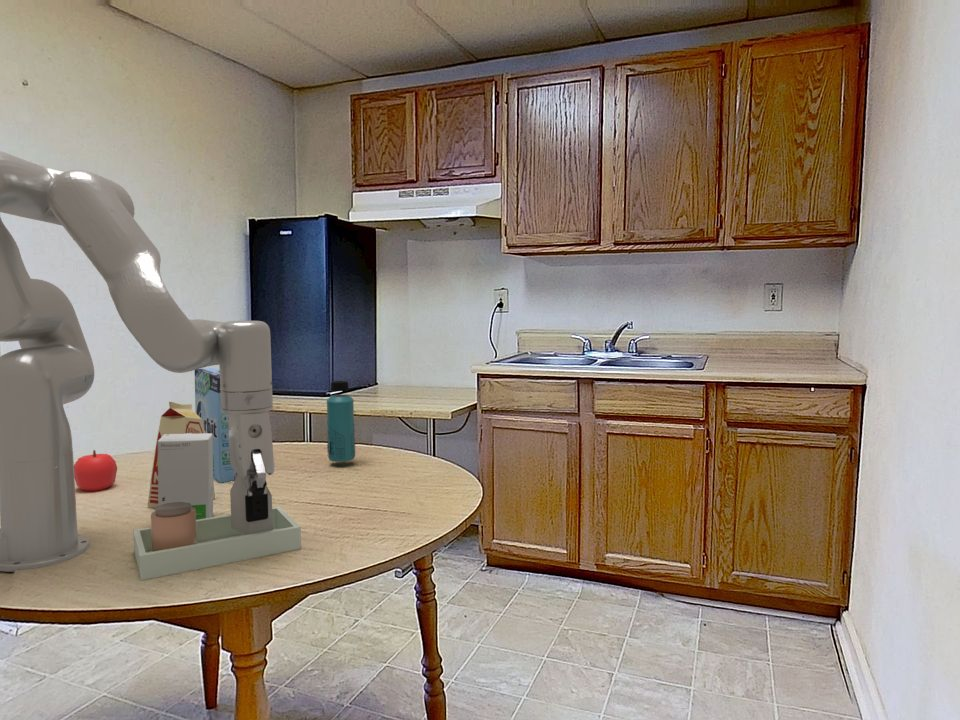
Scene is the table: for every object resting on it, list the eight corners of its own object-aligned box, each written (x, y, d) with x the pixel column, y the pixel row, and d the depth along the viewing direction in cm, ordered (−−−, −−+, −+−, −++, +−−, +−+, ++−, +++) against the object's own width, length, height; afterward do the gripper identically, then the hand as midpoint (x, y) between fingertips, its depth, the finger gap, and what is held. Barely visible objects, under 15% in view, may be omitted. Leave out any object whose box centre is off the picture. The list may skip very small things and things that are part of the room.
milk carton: (189, 511, 121) (185, 404, 119) (145, 508, 123) (140, 402, 121) (218, 497, 130) (215, 396, 128) (177, 494, 132) (173, 395, 130)
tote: (141, 584, 90) (139, 556, 89) (134, 555, 100) (133, 530, 99) (301, 552, 101) (300, 527, 101) (280, 529, 111) (279, 506, 111)
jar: (154, 569, 93) (152, 516, 92) (150, 555, 98) (148, 504, 98) (200, 560, 96) (198, 509, 96) (194, 547, 101) (192, 498, 101)
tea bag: (249, 538, 99) (247, 473, 98) (231, 527, 104) (229, 465, 103) (272, 532, 102) (271, 469, 101) (253, 522, 106) (251, 461, 106)
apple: (64, 491, 133) (62, 453, 133) (98, 481, 141) (96, 445, 140) (93, 495, 131) (91, 456, 130) (127, 485, 138) (125, 447, 138)
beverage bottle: (361, 463, 156) (360, 380, 154) (341, 469, 151) (340, 383, 149) (341, 460, 160) (339, 378, 158) (321, 465, 154) (319, 381, 152)
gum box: (196, 465, 155) (192, 369, 153) (219, 462, 158) (215, 367, 156) (219, 483, 139) (215, 376, 137) (243, 479, 142) (240, 375, 140)
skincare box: (158, 533, 109) (153, 441, 108) (165, 520, 116) (161, 433, 114) (211, 528, 112) (208, 438, 110) (216, 516, 118) (212, 431, 117)
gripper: (286, 406, 95) (290, 524, 97) (258, 392, 110) (262, 495, 112) (232, 411, 92) (237, 534, 93) (211, 396, 106) (215, 502, 108)
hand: (251, 512), depth 102 cm, fingers closed on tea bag, 7 cm apart
